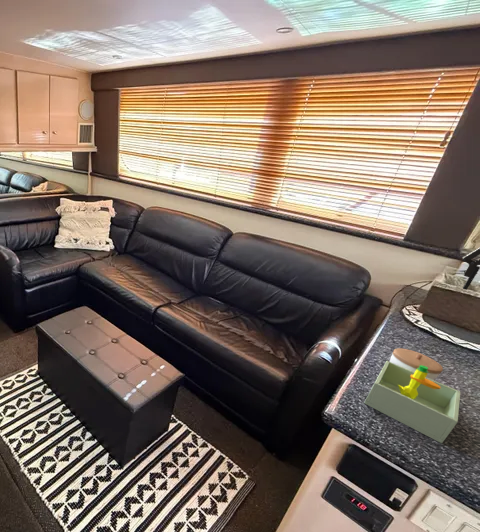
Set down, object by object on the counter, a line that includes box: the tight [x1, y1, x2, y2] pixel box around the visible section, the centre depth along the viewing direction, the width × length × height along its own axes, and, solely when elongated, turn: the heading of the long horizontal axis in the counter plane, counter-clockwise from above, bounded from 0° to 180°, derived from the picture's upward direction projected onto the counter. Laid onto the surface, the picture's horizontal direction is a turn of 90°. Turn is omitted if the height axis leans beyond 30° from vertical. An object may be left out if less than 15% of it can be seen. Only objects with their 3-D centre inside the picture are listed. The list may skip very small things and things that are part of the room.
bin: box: [363, 360, 461, 444], centre depth 85 cm, size 15×17×7 cm
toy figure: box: [398, 365, 441, 399], centre depth 83 cm, size 7×4×12 cm, turn 39°
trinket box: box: [388, 347, 444, 381], centre depth 96 cm, size 11×11×9 cm
